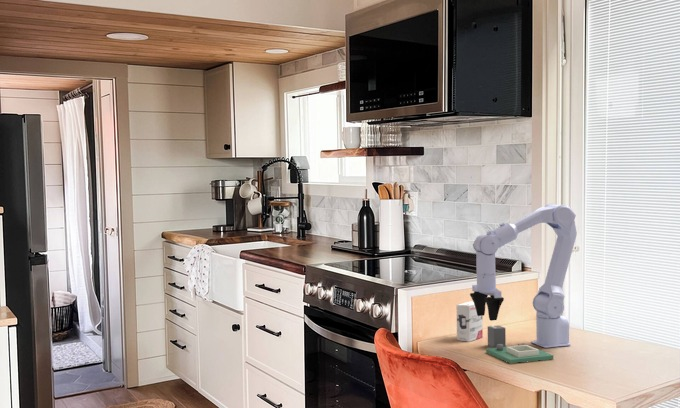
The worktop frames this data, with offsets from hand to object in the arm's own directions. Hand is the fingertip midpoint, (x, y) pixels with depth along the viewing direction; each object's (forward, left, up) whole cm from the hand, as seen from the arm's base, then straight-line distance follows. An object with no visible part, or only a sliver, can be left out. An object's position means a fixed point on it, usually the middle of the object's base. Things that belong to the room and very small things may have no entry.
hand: (486, 317), depth 212 cm
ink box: (-1, -14, -10) cm, 17 cm away
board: (-4, +11, -10) cm, 15 cm away
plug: (-4, -2, -10) cm, 10 cm away
